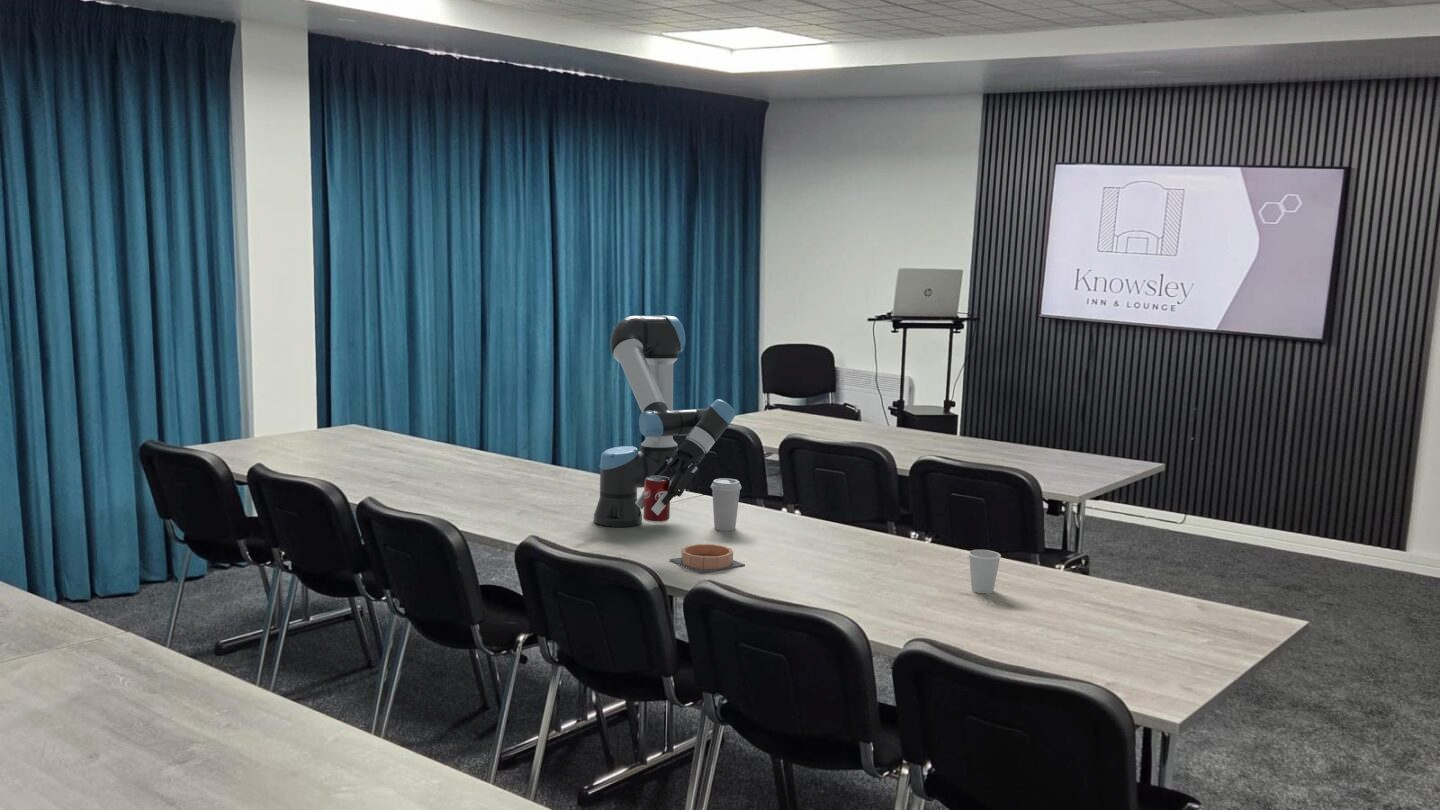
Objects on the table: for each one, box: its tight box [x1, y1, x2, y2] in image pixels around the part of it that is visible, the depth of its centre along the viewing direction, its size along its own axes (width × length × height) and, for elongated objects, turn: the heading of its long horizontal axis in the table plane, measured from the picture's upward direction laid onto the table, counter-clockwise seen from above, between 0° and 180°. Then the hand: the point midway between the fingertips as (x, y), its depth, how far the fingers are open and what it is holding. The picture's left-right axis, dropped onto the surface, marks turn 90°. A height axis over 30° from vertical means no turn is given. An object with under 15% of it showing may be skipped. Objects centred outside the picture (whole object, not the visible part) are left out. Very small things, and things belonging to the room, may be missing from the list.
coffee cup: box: [710, 478, 742, 532], centre depth 369 cm, size 10×10×15 cm
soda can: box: [642, 476, 671, 524], centre depth 331 cm, size 7×7×12 cm
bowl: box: [668, 543, 746, 575], centre depth 329 cm, size 15×15×4 cm
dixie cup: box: [968, 549, 1002, 595], centre depth 311 cm, size 8×8×10 cm
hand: (646, 509), depth 329 cm, fingers closed on soda can, 7 cm apart
